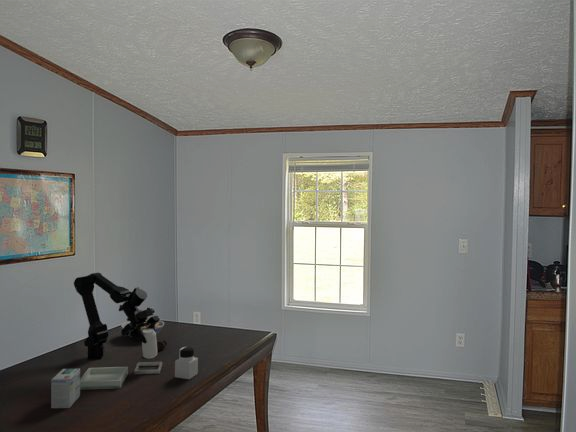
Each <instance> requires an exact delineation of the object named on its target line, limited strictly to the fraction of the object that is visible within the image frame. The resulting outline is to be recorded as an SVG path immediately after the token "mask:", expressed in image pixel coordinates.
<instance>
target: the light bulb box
mask: <svg viewBox="0 0 576 432" xmlns="http://www.w3.org/2000/svg"><path fill="white" fill-rule="evenodd" d="M80 379H81V368H62V369H61V370H60V371H59V372H58V373H57V374H56V375H54V377H52V378H51V379H50V381H51V382H50V383H51V392H50V393H51V397H50V399H51V403H50V405H51V407H50V408H51V409H70V408H71V407H72V405H74V403H75V402H76V401H77V400H78V399H79V398H80V396H81V390H80Z"/></svg>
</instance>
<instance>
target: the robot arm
mask: <svg viewBox="0 0 576 432" xmlns="http://www.w3.org/2000/svg"><path fill="white" fill-rule="evenodd" d="M95 285H97V287H99V288H100V289H102V290H103V291H105V292H106V293H107V294H109V297H110V299H111V300H112V301H113V302H114V304H120V305H119V308H118V312H123V313H124V314H125V316H126V317H127V318H126V322H128V321H130V322H131V323H129V324H127V325H126V326H125V327H124V328H123V329H122V328H121V333H120V334H121V335H122V336H123V337H127V336H128V335H129V337H130V336H131V338H134V339H135V340H137V341H140V342H141V343H142V342H143V343H146V342H147V341H146V339H145V337H144V336H143V334H142V332H141V327H144V326H145V327H146V328H147V329H154V331H155V324H156V323H157V322H158V321H159V320H160V321H161V318H160V317H159V316H158V315H154V314H155V309H154V307H153V306H149V307H147V308H146V309H144V310H142V309H139V308H138V307H140V306H141V305H142V304H143V303H144V302H145V300H146V299H147V298H148V293H147V292H146V291H145V290H143V289H141V288H140V287H135V288H134V289H133V290H132V291H130V289H128V288H126V287H123V286H120V285H119V286H118V285H116V284H115V283H114V282H112V281H111V280H109V279H108V278H107V277H105V276H104V275H102V273H101V272H93V273H90V274H88V275H85V276H79V277H76V278H75V279H74V281H73V286H74V288H75V289H74V290H75V291H76V293H78V295H80V296H81V299H82V302H83V305H84V310H85V313H86V317H87V321H88V324H89V326H88V330H87V334H88V335H87V337H86V338H85V340H83V343H84V347H87V357H86V360H101V359H102V358H103V357H104V356H105V346H104V344H105V343H107V340H108V337H109V329H108V325H107V324H106V323H102V321H101V319H100V314H99V311H98V307H97V304H96V300H95V297H94V293H93V292H94V290H95ZM121 303H123V304H121ZM147 319H148V320H147ZM146 320H147V321H146ZM129 332H130V334H129ZM155 333H156V332H155ZM156 340H157V336H156Z"/></svg>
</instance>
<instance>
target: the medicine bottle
mask: <svg viewBox="0 0 576 432" xmlns="http://www.w3.org/2000/svg"><path fill="white" fill-rule="evenodd" d="M178 356H179V358H178V359H176V360H175V361H174V378H177V379H178V378H179V379H185V380H191V379H192V378H194V377H195V376H197V375H199V374H198V371H199V370H198V369H199V367H198V366H199V365H198V364H199V357H195V348H193V347H191V346H184V347H181V348H180V349H179V355H178Z"/></svg>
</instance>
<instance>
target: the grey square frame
mask: <svg viewBox="0 0 576 432" xmlns="http://www.w3.org/2000/svg"><path fill="white" fill-rule="evenodd" d="M156 366H158V368H157V369H140V367H156ZM162 366H163V361H148V362H146V361H145V362H144V361H143V362H140V361H139V362H137V363H136V367H134V369H133V375H151V374H152V375H153V374H161V373H160V372H161V370H162Z"/></svg>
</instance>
